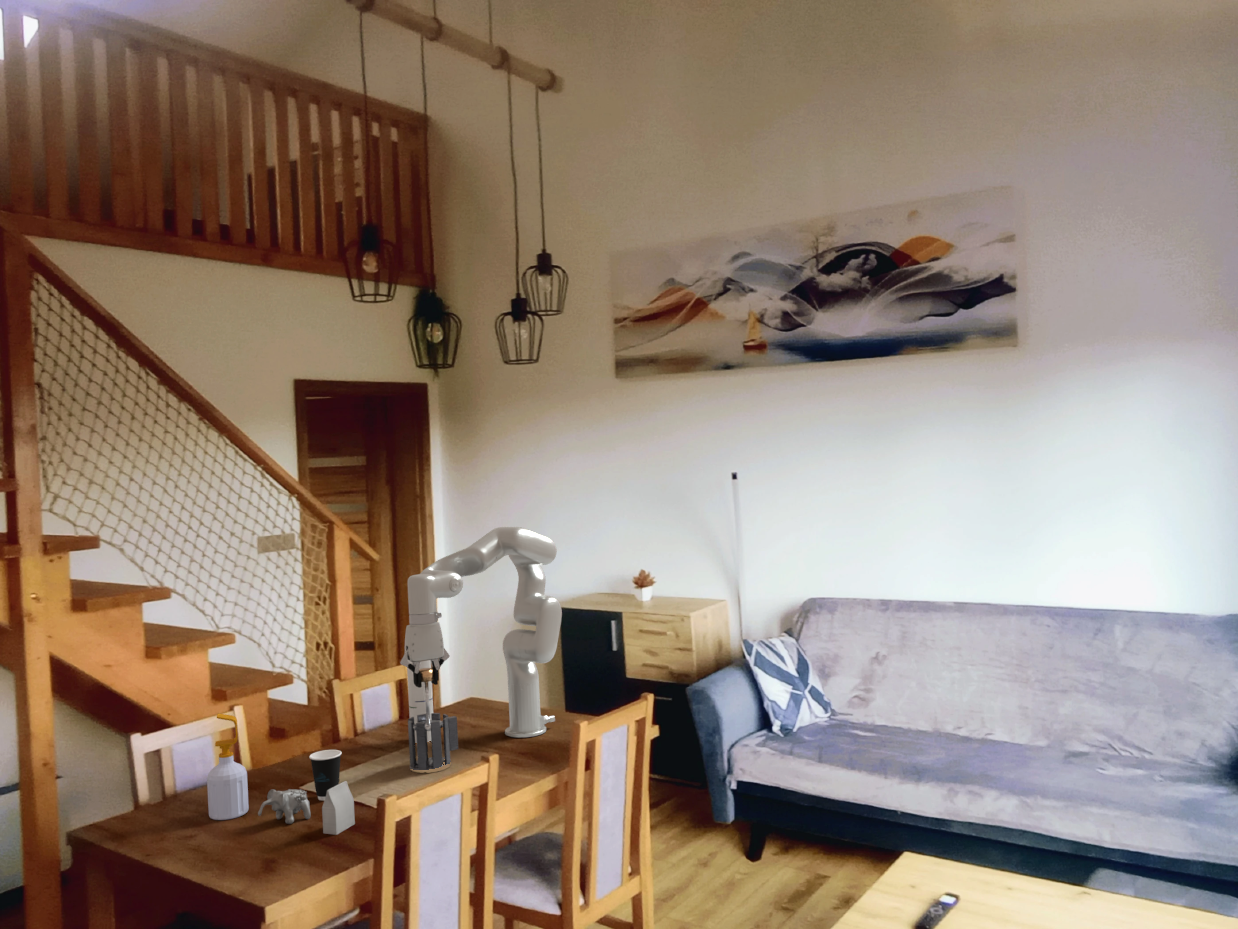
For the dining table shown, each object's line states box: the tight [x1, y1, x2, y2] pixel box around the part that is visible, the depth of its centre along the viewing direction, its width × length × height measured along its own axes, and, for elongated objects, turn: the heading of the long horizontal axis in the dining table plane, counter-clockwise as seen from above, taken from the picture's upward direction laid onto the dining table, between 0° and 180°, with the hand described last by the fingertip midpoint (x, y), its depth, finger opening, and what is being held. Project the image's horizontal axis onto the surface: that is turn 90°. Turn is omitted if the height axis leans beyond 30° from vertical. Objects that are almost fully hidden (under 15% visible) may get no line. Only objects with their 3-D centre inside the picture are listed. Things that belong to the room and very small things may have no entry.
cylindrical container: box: [406, 660, 434, 743], centre depth 295 cm, size 7×7×25 cm
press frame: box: [407, 712, 459, 770], centre depth 269 cm, size 14×11×14 cm
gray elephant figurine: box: [257, 788, 311, 825], centre depth 231 cm, size 9×12×8 cm
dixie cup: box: [308, 749, 342, 801], centre depth 247 cm, size 8×8×11 cm
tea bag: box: [321, 780, 356, 836], centre depth 224 cm, size 4×7×10 cm, turn 159°
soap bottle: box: [206, 713, 250, 821], centre depth 238 cm, size 9×9×25 cm
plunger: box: [413, 667, 443, 731], centre depth 268 cm, size 8×8×16 cm
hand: (426, 684), depth 268 cm, fingers closed on plunger, 4 cm apart
